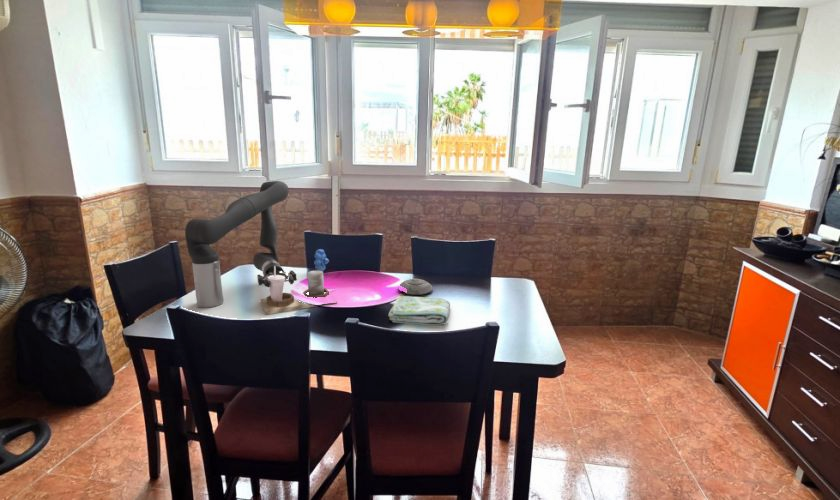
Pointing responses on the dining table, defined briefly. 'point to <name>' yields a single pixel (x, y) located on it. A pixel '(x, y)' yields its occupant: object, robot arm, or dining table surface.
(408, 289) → the grey rounded dome
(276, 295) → the smoothie
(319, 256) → the grapes
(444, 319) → the towel
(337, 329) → the dining table surface
